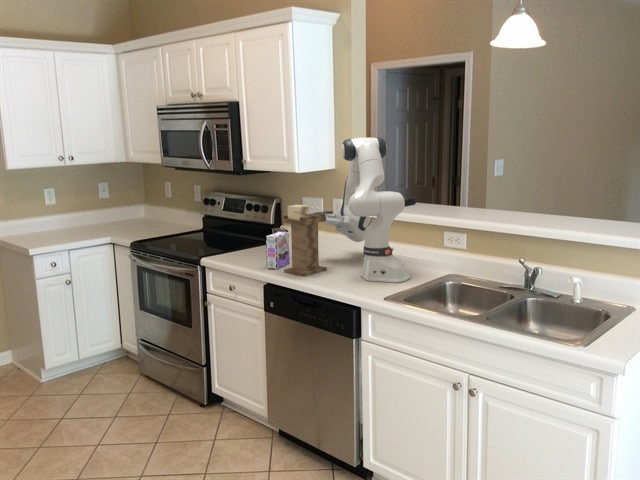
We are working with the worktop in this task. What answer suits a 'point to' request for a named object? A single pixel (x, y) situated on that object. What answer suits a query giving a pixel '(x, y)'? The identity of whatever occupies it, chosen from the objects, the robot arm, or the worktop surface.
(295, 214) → the beech block
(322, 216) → the walnut stand
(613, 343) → the worktop surface
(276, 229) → the coffee box
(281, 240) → the candy box
